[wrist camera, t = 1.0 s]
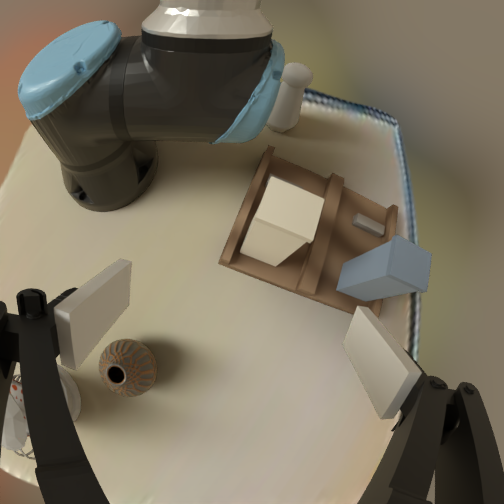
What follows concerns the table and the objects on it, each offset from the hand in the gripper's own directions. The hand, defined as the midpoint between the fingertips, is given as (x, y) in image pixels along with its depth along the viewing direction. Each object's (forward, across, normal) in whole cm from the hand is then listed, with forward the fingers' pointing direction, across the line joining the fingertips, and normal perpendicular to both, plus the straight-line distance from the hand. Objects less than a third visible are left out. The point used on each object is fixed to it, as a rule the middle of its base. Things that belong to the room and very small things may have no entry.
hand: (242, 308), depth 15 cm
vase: (+14, -11, -18) cm, 25 cm away
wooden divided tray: (+26, +10, +1) cm, 28 cm away
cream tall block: (+22, +3, -1) cm, 22 cm away
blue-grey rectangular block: (+22, +16, -4) cm, 27 cm away
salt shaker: (+35, +2, +17) cm, 39 cm away
